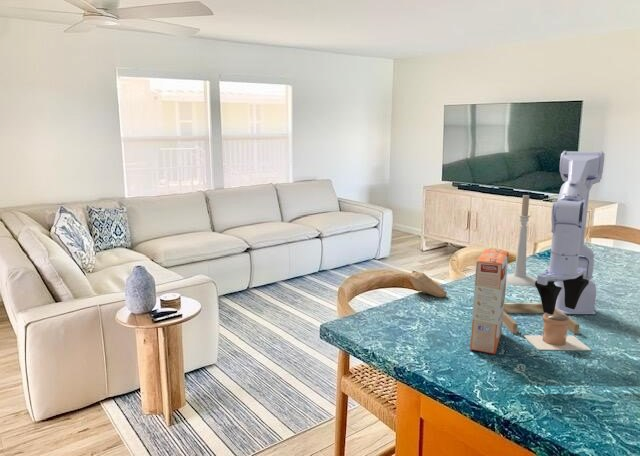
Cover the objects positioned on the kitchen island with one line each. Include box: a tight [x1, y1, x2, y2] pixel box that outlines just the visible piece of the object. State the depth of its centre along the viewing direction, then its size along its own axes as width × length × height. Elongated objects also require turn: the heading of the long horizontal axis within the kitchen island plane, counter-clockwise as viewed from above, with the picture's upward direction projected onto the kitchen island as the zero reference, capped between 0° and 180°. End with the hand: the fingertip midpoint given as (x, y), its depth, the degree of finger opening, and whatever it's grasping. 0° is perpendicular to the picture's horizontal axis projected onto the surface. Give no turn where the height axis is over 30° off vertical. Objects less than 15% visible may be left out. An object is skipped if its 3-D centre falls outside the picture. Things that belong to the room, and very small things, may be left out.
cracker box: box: [469, 248, 509, 355], centre depth 112 cm, size 14×6×21 cm, turn 154°
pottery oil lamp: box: [408, 270, 448, 298], centre depth 148 cm, size 9×12×7 cm
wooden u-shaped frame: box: [502, 302, 580, 335], centre depth 126 cm, size 16×16×2 cm
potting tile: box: [523, 334, 592, 351], centre depth 113 cm, size 12×8×1 cm, turn 89°
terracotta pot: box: [542, 313, 571, 346], centre depth 113 cm, size 6×6×6 cm
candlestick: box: [506, 194, 537, 287], centre depth 159 cm, size 13×13×30 cm
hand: (559, 310), depth 112 cm, fingers open, 7 cm apart
